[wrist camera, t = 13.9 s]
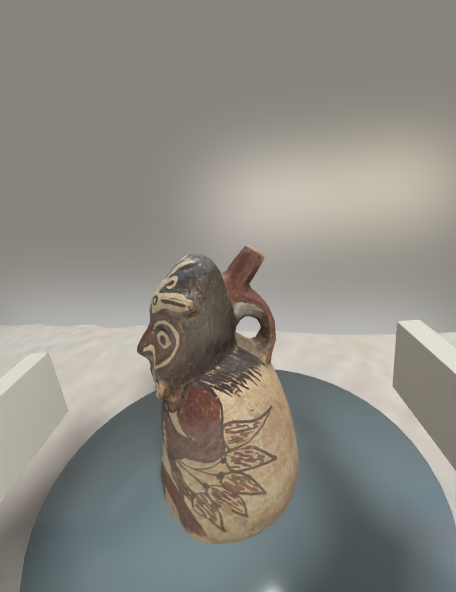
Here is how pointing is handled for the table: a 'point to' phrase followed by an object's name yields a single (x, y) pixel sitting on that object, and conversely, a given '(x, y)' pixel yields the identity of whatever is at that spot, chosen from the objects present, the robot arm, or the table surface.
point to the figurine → (219, 402)
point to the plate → (270, 541)
